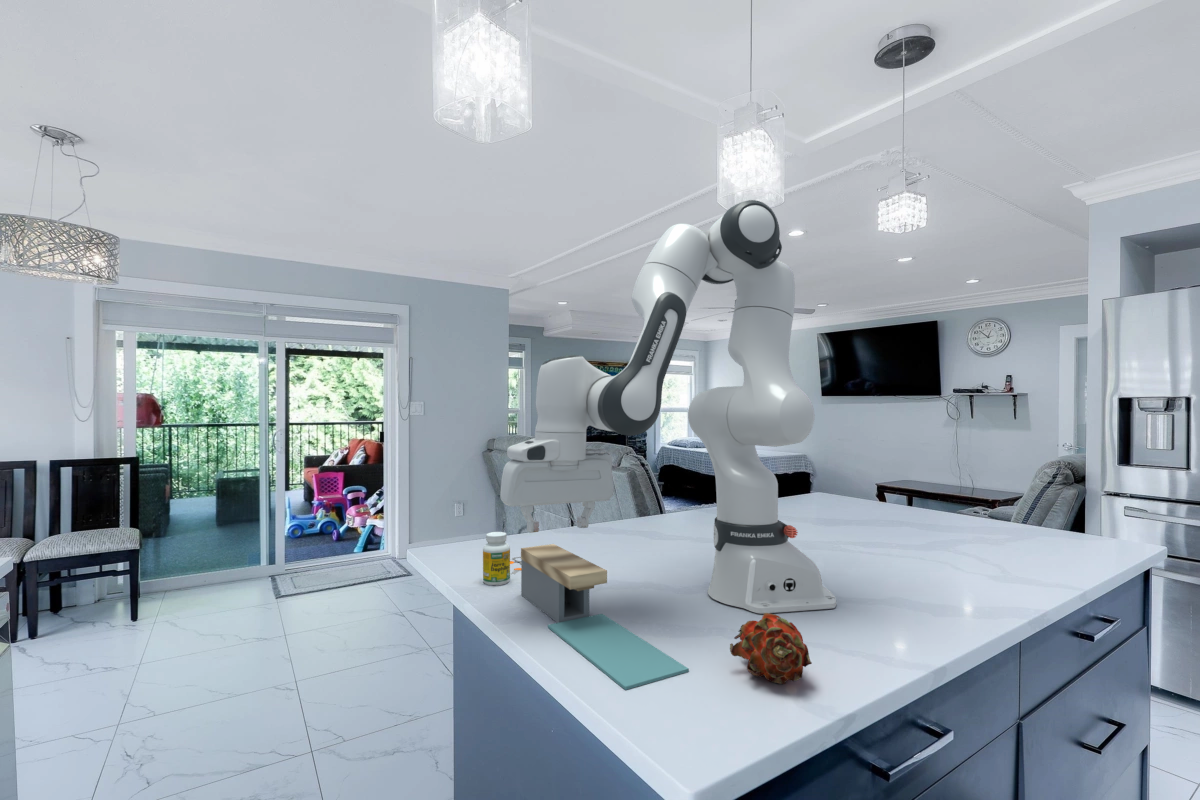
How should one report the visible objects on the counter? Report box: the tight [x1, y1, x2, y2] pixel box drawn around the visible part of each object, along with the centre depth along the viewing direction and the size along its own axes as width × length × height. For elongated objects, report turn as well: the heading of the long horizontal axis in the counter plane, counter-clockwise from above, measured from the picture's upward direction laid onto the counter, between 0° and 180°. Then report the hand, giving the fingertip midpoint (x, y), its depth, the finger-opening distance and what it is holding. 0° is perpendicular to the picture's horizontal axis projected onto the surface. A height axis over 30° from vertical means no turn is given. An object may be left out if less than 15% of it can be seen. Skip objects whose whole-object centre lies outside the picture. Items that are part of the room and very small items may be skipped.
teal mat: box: [547, 613, 690, 691], centre depth 84 cm, size 23×10×1 cm, turn 30°
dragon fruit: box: [729, 613, 813, 685], centre depth 76 cm, size 8×8×12 cm
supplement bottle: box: [482, 531, 511, 586], centre depth 115 cm, size 5×5×10 cm
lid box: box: [520, 558, 590, 623], centre depth 101 cm, size 16×6×7 cm, turn 30°
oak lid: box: [520, 543, 608, 591], centre depth 99 cm, size 20×7×3 cm, turn 30°
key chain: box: [510, 556, 521, 575], centre depth 127 cm, size 13×7×1 cm, turn 20°
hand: (558, 529), depth 98 cm, fingers open, 8 cm apart
